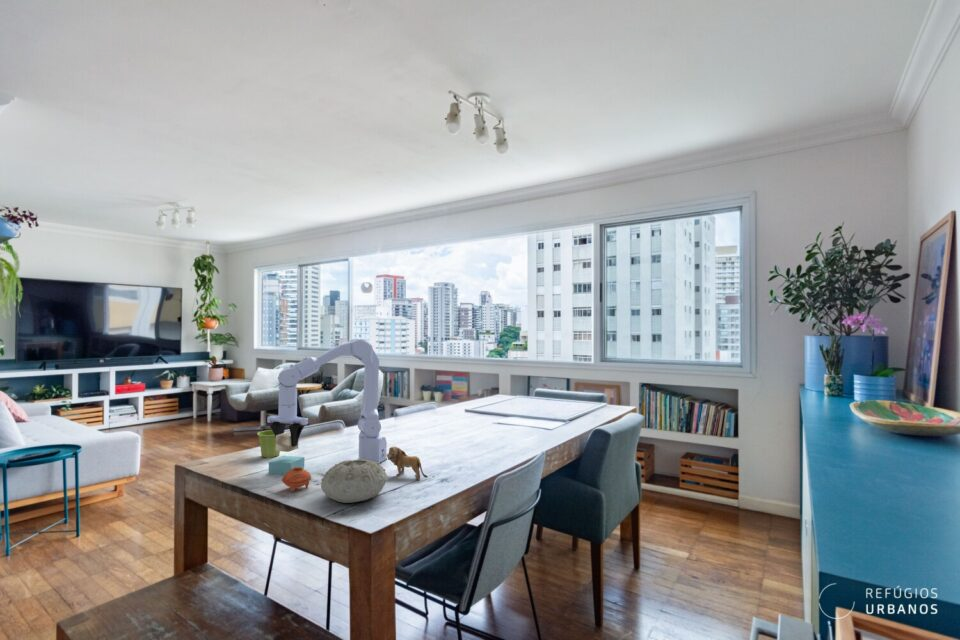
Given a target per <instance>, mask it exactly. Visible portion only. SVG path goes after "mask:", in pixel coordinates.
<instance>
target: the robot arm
mask: <svg viewBox="0 0 960 640" xmlns="http://www.w3.org/2000/svg"><path fill="white" fill-rule="evenodd" d="M341 356H345V357H346V356H348V357H349V356H350V357H351V356H352V357H353V358H356V359H358V361H360V362H361V363H362V364H363V365H364V373H363V376H364V377H363V398H362V409H361V411H360V417H359V419H358V421H357V428H358V430H359V434H358V458H356V459H355V460H359V459H367V460H371V461H374V462H376V463H379V464H380V463H382V462H384V461H385V460H388V457H387V445H388V443H387V439H386V437H385V436H381V435H380V432H381V429H382V425H381V422H380V419H379V418H380V415H379V411H378V397H379V395H378V394H379V374H380V373H379V371H380V359H379V357H378V356H377V353H376V352H375V350H374V348H373V345H372V344H371V343H369V341H367V340H366V339H361V338H360V339H358V338H352V339H350V340H348V341H346V342H343V343H340V344H338V345H336V346H335V347H333V348H331V349H329V350H327V351H325V352H323V353H322V354H320V355H319V356H317V357H314V356H308V357H307V356H304V357H303V358H302V360H301V361H299V362H296V363H295V364H290V365H289V367H286V368H283V369H281V371H280V372H279V373H278V376H277V379H278V382H279V386H278V389H279V390H278V414H277V415H270V416H267V418H266V419H267V423H269V428H270V430H272V431H273V432H274V435H275V438H276V435H279V434H283V433H284V432H285V429H286V425H288V424H290V425H288V430H289V433H291V446H296V445H297V443H298V444H299V439H300V436H301V433H302V431H303V430H304V428H305V426H306V425H308V424H309V418H308V417H307V418H306V417H301V416H297V415H298V390H297V388H298V387H297V386H298V385H297V384H298V383H299V381H302V380H304V379H307V378H308V377H309V376H312V375H314V374H315V373H318V372H319V371H320V367H321V366H322V365H326V364H327V363H329V362H331V361H333V360H336V359H337V358H339V357H341ZM271 423H272V424H271Z"/></svg>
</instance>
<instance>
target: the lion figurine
mask: <svg viewBox="0 0 960 640" xmlns="http://www.w3.org/2000/svg"><path fill="white" fill-rule="evenodd" d="M386 457H387V460H389V461H390V463H391V462H392V464H393V465H394V466H396V468H397V473H396V477H401V476H402V475H403V474H404V473H405V468H411V469H412V471H413V472H414V474H415V475H414V476H415V479H416V481H417V480H418V481H420V480H421V475H422V476H423V477H424V478H426V479H427V478H429V477H428V475H426V474H424V471H423V467H422V463H421V460H420V458H419V457H418V456H416V455H413V456H410V455H407V453H406V452H405V451H404V450H403V449H401V448H400V447H397V446H391V447H390V448H388V453H386ZM420 472H421V473H420Z"/></svg>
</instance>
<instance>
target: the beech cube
mask: <svg viewBox="0 0 960 640" xmlns="http://www.w3.org/2000/svg"><path fill="white" fill-rule="evenodd" d="M298 449H299V442H298V443H297V445H296V446H291V433H290V432H285V433H283V434H279V435H276V451H280V452H283V453H284V452H285V453H289V452H292V451H295V450H298Z"/></svg>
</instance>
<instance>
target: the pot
mask: <svg viewBox="0 0 960 640" xmlns="http://www.w3.org/2000/svg"><path fill="white" fill-rule="evenodd" d="M311 478H312V476H311V474H310V473H309V472H308V471H307V470H306V469H304V468H302V467H294V468H292V469H290V471H288V472H287V473H286V474H283V476H282V478H281V482H282V483H283V484H284V485H285V486H287V487H289V489H290V491H291V493H294V492H295V489H298V488H301V487H303V486H305V489H308V488H309V484H310V480H311Z"/></svg>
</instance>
